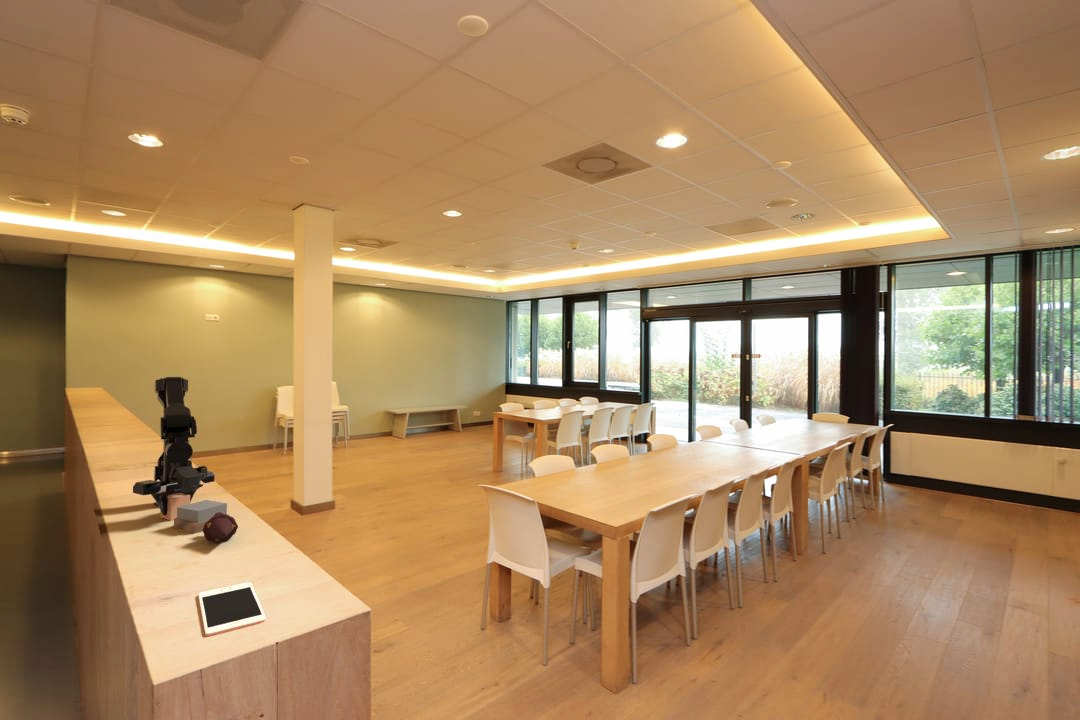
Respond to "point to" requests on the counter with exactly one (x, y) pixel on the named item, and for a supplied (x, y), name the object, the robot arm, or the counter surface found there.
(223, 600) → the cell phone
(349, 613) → the counter surface
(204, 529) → the maroon plush toy
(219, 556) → the counter surface
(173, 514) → the block
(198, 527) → the tower bottom
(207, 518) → the tower top
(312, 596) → the counter surface
